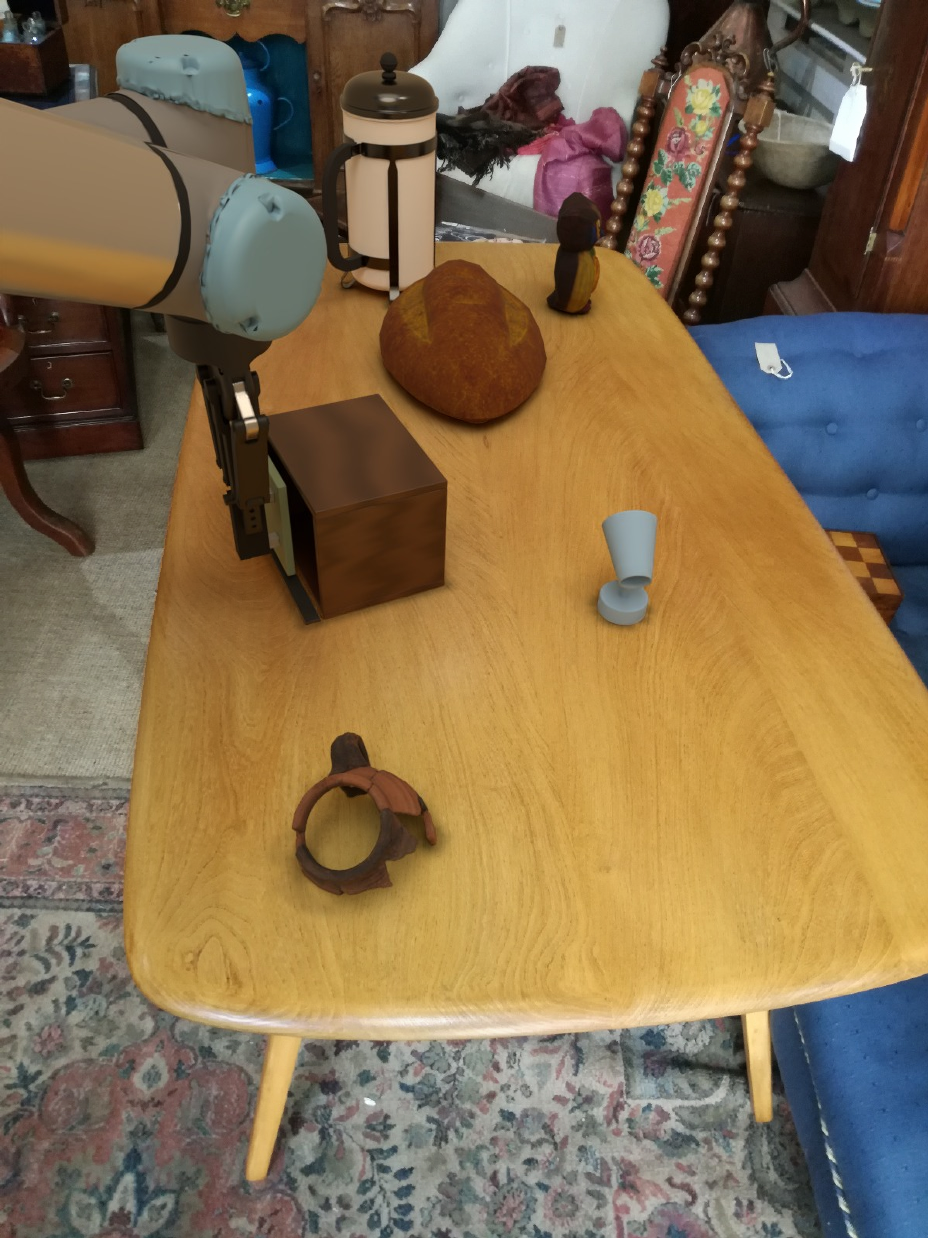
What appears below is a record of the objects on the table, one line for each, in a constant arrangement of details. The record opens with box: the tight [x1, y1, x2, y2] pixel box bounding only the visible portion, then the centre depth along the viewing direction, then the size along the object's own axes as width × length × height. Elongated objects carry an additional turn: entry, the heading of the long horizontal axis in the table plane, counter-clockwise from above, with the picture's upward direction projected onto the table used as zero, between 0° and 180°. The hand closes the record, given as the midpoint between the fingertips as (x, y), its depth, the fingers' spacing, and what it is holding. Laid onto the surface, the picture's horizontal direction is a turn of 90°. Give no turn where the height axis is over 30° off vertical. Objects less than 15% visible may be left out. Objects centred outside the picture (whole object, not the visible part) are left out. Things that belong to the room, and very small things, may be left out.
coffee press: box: [321, 51, 440, 306], centre depth 126 cm, size 17×16×30 cm
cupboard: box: [266, 393, 449, 626], centre depth 89 cm, size 14×21×12 cm, turn 26°
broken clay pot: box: [291, 731, 437, 897], centre depth 66 cm, size 12×10×8 cm
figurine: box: [546, 191, 606, 315], centre depth 129 cm, size 10×7×15 cm
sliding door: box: [246, 456, 297, 576], centre depth 88 cm, size 5×16×10 cm, turn 26°
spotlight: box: [596, 509, 658, 626], centre depth 84 cm, size 5×10×7 cm
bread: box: [378, 258, 548, 424], centre depth 115 cm, size 21×33×12 cm, turn 3°
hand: (253, 552), depth 82 cm, fingers closed
